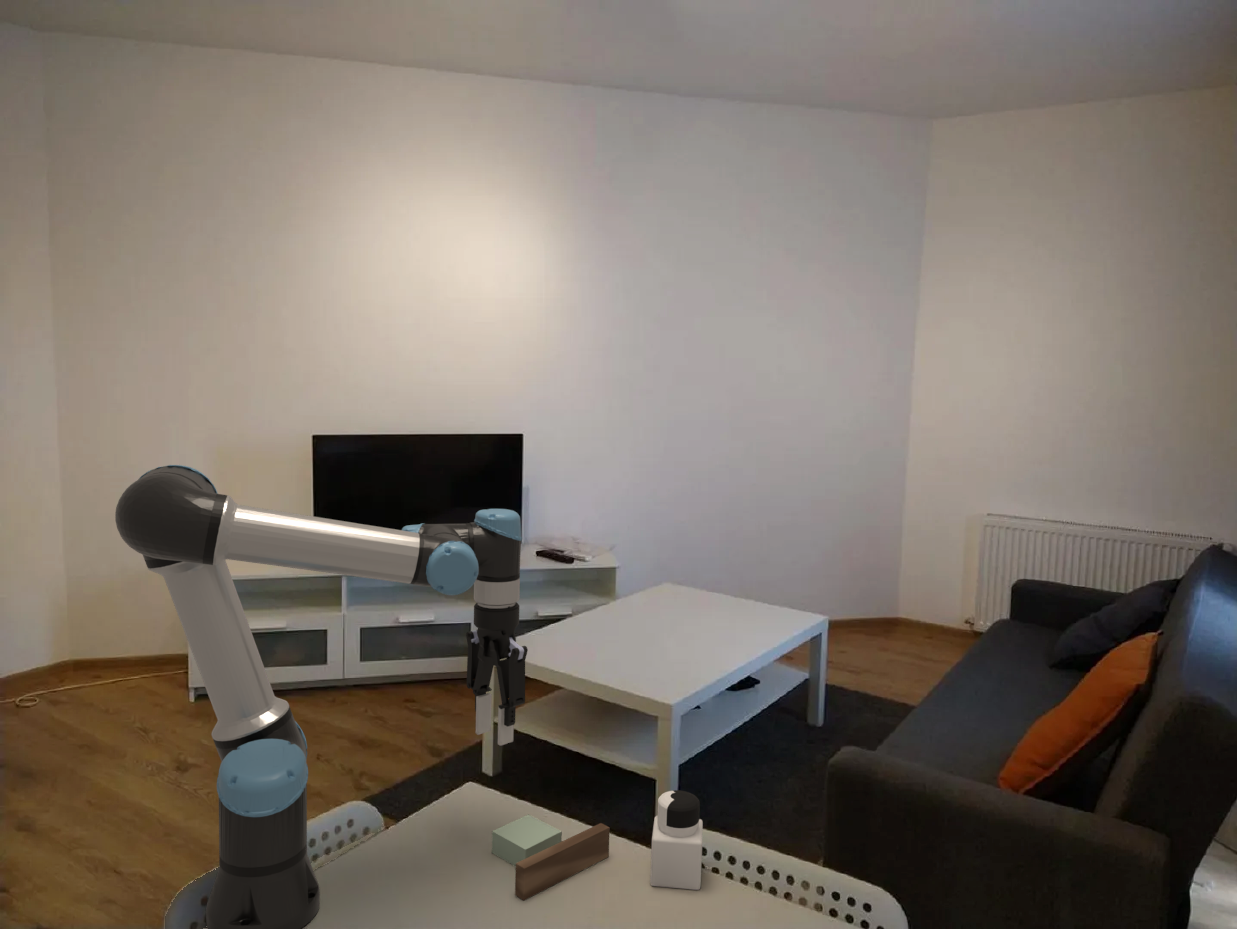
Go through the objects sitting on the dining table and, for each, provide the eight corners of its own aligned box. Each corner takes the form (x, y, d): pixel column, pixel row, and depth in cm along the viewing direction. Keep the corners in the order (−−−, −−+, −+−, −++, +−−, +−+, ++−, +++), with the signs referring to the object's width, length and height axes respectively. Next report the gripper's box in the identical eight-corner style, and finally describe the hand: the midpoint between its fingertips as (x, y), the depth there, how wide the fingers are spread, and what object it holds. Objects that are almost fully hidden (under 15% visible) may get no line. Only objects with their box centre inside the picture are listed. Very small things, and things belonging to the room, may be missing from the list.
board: (515, 895, 136) (515, 863, 135) (600, 852, 148) (601, 823, 148) (523, 900, 134) (524, 868, 134) (608, 856, 147) (609, 827, 147)
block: (491, 854, 147) (492, 831, 147) (528, 836, 153) (528, 814, 153) (524, 873, 142) (525, 849, 142) (561, 854, 148) (561, 831, 147)
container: (700, 864, 146) (704, 787, 144) (700, 891, 138) (703, 810, 137) (652, 860, 147) (655, 783, 145) (649, 887, 139) (652, 806, 138)
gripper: (550, 610, 146) (547, 748, 148) (481, 588, 159) (479, 716, 161) (514, 618, 141) (511, 761, 143) (445, 595, 153) (444, 727, 156)
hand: (494, 737), depth 152 cm, fingers open, 5 cm apart
